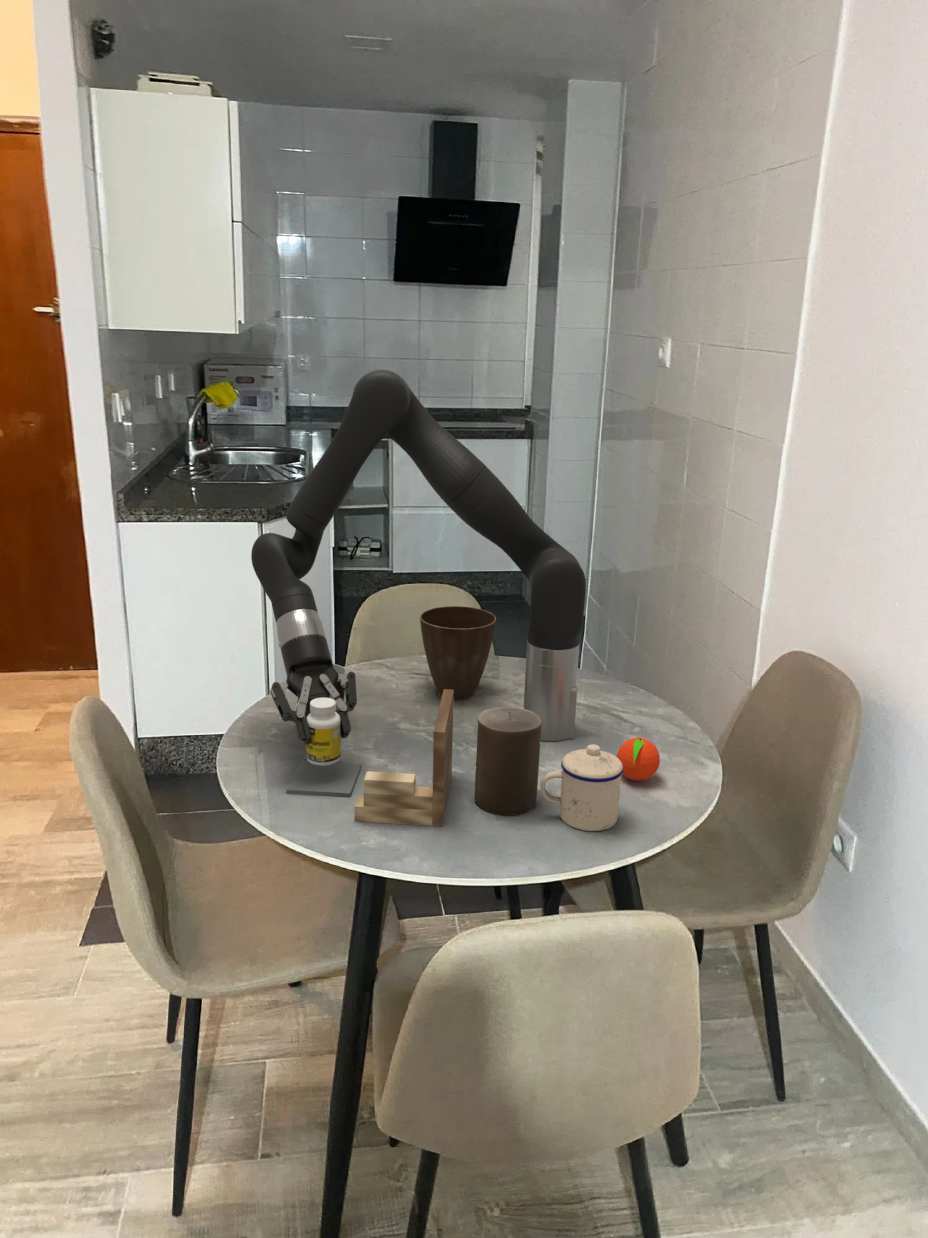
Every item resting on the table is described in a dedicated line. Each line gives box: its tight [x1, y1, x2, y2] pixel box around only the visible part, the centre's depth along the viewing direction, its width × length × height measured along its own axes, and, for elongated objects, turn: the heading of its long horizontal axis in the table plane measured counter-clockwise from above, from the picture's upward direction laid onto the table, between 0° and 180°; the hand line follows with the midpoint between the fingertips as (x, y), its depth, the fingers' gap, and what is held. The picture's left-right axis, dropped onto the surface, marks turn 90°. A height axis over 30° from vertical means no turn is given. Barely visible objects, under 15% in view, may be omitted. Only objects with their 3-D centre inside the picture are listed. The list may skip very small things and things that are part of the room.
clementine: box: [616, 737, 661, 782], centre depth 146 cm, size 8×7×7 cm
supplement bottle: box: [305, 698, 342, 766], centre depth 141 cm, size 5×5×10 cm
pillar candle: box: [474, 706, 541, 816], centre depth 137 cm, size 10×10×15 cm
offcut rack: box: [354, 689, 455, 827], centre depth 137 cm, size 13×16×15 cm
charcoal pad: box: [285, 760, 363, 798], centre depth 144 cm, size 10×10×1 cm
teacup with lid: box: [539, 744, 623, 832], centre depth 133 cm, size 12×9×12 cm
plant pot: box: [419, 605, 497, 701], centre depth 177 cm, size 15×15×16 cm
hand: (327, 739), depth 140 cm, fingers closed on supplement bottle, 5 cm apart
